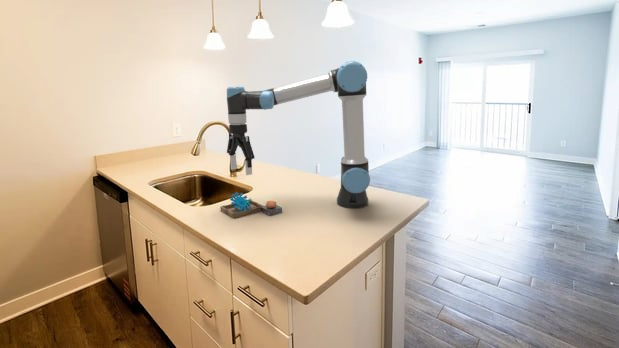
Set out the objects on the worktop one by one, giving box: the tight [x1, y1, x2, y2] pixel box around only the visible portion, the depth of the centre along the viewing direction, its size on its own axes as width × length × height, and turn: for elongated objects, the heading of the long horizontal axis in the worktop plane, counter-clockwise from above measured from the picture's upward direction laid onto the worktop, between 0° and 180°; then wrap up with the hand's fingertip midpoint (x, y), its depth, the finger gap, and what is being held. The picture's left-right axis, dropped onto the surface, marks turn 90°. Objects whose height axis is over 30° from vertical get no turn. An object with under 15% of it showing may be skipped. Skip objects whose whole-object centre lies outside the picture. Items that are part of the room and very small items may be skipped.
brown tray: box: [219, 199, 264, 220], centre depth 159 cm, size 13×16×2 cm
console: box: [260, 204, 283, 217], centre depth 157 cm, size 7×7×2 cm
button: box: [265, 200, 277, 209], centre depth 156 cm, size 4×4×3 cm
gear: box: [229, 192, 252, 212], centre depth 159 cm, size 11×6×10 cm
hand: (241, 171), depth 154 cm, fingers open, 13 cm apart
